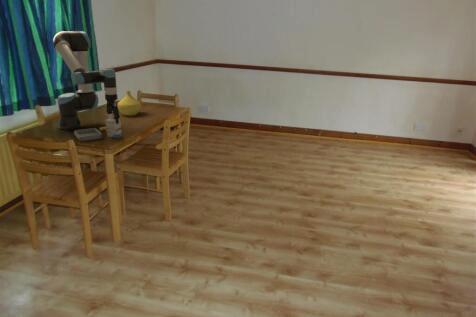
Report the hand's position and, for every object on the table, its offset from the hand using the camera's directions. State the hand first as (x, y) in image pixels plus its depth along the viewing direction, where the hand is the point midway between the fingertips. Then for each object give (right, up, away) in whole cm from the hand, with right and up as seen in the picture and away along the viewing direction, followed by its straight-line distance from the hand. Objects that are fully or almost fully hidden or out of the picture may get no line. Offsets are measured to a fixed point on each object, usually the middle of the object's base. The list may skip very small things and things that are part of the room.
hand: (114, 125), depth 243 cm
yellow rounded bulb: (-7, +14, +59) cm, 61 cm away
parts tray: (-17, -7, +1) cm, 19 cm away
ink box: (-1, -7, +3) cm, 8 cm away
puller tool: (-11, -1, +17) cm, 21 cm away
